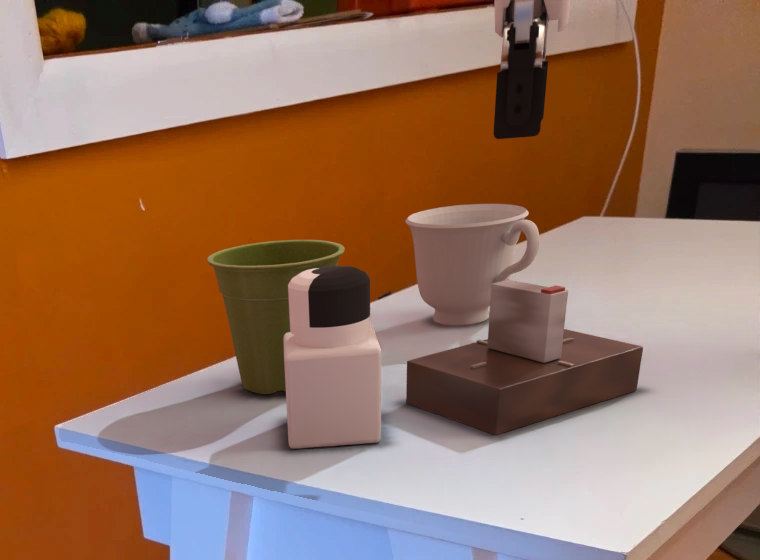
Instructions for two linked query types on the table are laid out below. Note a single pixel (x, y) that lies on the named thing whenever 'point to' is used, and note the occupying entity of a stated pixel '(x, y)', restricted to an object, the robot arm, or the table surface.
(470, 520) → the table surface
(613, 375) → the tap base
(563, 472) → the table surface
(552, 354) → the tap handle
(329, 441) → the medicine bottle
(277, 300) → the plant pot
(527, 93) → the robot arm
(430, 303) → the teacup
